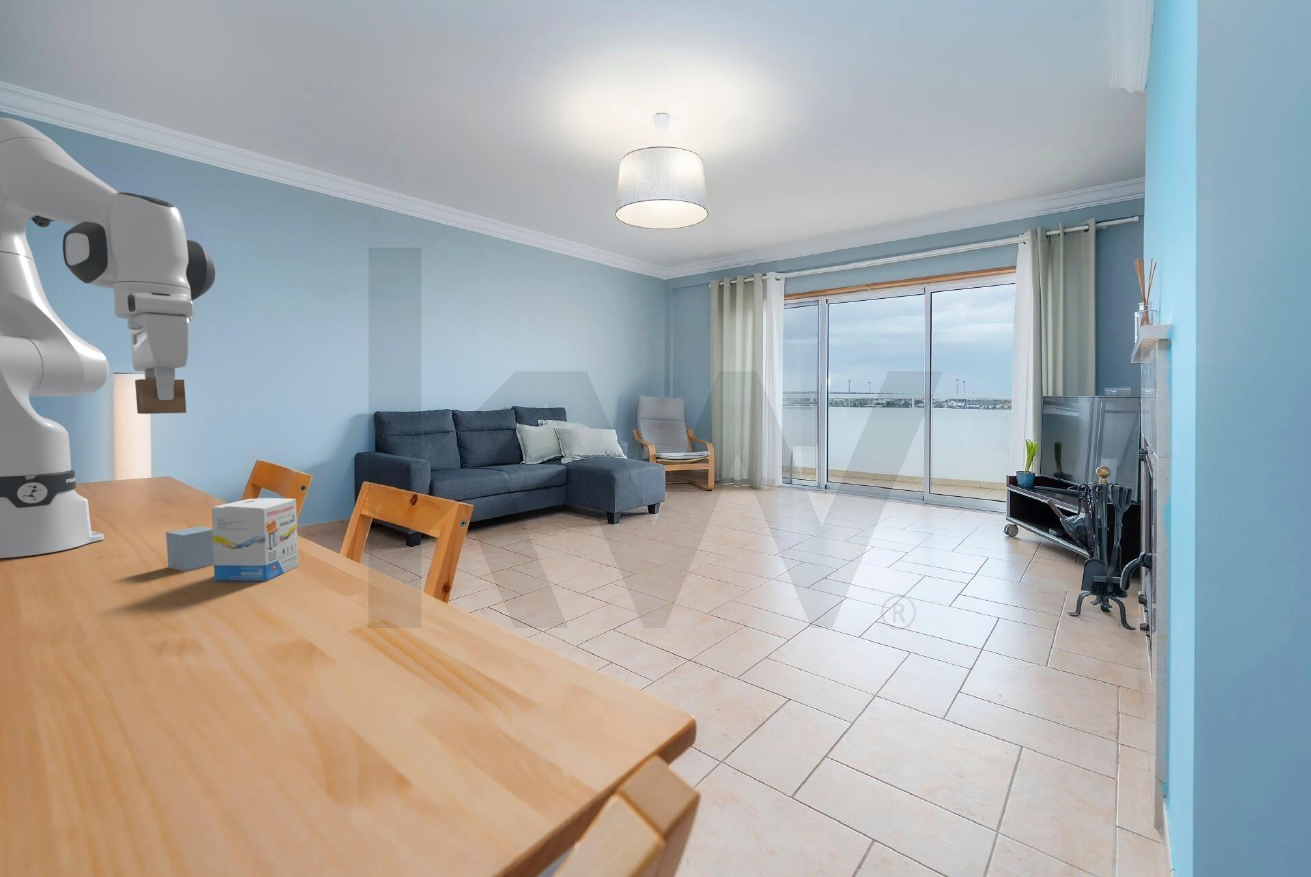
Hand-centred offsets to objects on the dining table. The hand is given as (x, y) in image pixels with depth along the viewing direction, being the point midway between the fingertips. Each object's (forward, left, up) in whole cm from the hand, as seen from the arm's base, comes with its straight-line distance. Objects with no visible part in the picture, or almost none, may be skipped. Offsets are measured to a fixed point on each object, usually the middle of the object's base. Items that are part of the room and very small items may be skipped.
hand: (161, 400), depth 89 cm
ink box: (+5, +10, -28) cm, 30 cm away
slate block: (-8, +4, -28) cm, 30 cm away
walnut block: (0, 0, -2) cm, 2 cm away
